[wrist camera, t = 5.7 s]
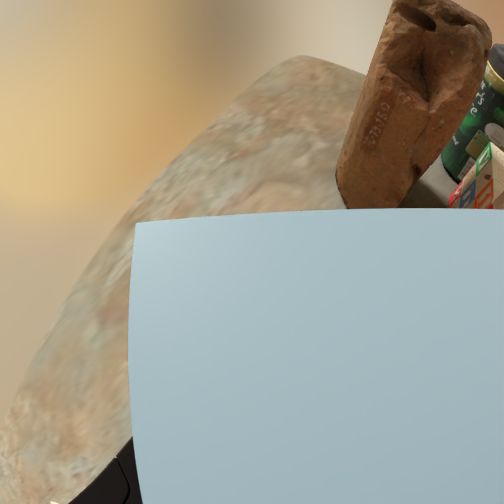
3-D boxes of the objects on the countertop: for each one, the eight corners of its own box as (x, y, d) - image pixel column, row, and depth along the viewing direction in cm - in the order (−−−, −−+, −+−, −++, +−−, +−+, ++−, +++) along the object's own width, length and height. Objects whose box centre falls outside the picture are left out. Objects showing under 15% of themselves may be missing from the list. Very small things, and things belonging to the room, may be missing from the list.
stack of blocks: (448, 194, 27) (504, 118, 16) (486, 223, 26) (547, 159, 14) (388, 375, 19) (508, 348, 8) (441, 404, 18) (558, 391, 6)
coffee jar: (440, 131, 32) (492, 30, 15) (482, 161, 30) (542, 70, 14) (434, 168, 28) (505, 44, 12) (482, 204, 27) (565, 99, 10)
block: (352, 136, 30) (402, -26, 12) (410, 167, 28) (487, 17, 10) (315, 200, 25) (382, -29, 7) (388, 239, 24) (518, 45, 6)
